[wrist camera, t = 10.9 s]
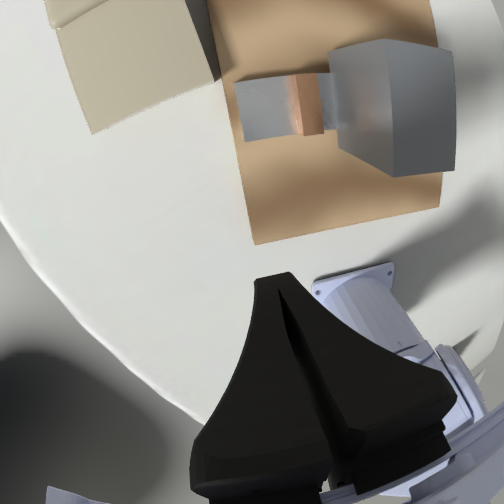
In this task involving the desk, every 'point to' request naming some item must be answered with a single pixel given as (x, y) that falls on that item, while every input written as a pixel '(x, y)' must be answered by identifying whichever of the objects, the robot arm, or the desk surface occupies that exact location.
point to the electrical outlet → (127, 55)
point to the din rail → (285, 106)
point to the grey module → (395, 105)
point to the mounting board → (325, 145)
